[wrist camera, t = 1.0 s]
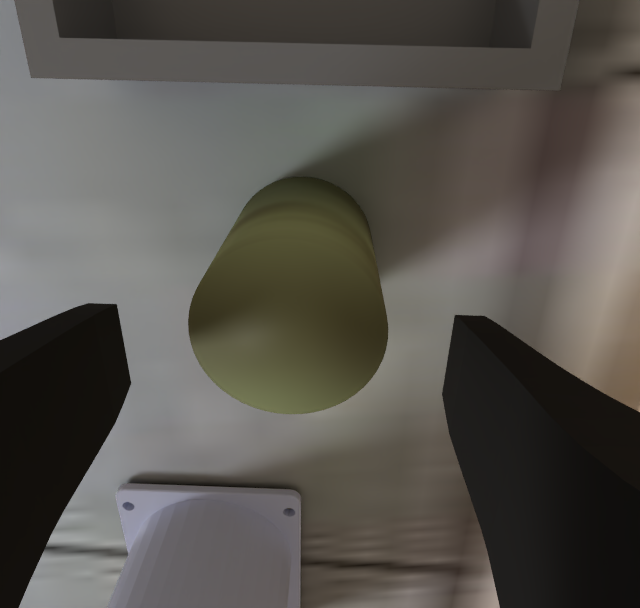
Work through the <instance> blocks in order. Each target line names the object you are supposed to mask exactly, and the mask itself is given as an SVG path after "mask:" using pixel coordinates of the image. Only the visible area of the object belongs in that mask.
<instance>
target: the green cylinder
mask: <svg viewBox="0 0 640 608" xmlns="http://www.w3.org/2000/svg"><path fill="white" fill-rule="evenodd" d="M188 326H189V336H190V341H191V345H192V348H193V351H194V354H195V356H196V358H197V360H198V362H199V364H200V365H201V367H202V368H203V370H204V371H205V373H206V374H207V375H208V376H209V377H210V379H211V380H212V381H213V382H214V383H215V384H216V385H217V386H218V387H220V388H221V389H222V390H223V391H224V392H226V393H227V394H229V395H230V396H231V397H233V398H235V399H237V400H239V401H240V402H242V403H244V404H247V405H249V406H252V407H254V408H257V409H261V410H264V411H269V412H274V413H282V414H304V413H312V412H316V411H321V410H325V409H327V408H330V407H333V406H336V405H338V404H340V403H342V402H344V401H346V400H347V399H349V398H350V397H352V396H353V395H355V394H356V393H357V392H358V391H360V390H361V389H362V388H363V387H364V386H365V385H366V384H367V383H368V382H369V381H370V380H371V378H372V377H373V375H374V374H375V373H376V371H377V370H378V368H379V366H380V364H381V362H382V360H383V357H384V354H385V351H386V346H387V340H388V322H387V315H386V309H385V304H384V299H383V294H382V289H381V284H380V279H379V274H378V269H377V264H376V258H375V253H374V248H373V243H372V238H371V233H370V229H369V225H368V222H367V219H366V217H365V215H364V213H363V211H362V210H361V208H360V206H359V205H358V204H357V203H356V202H355V200H354V199H353V198H352V197H351V196H350V195H349V194H347V193H346V192H345V191H343V190H342V189H341V188H339V187H337V186H335V185H334V184H332V183H329V182H327V181H324V180H321V179H316V178H311V177H292V178H286V179H282V180H279V181H276V182H274V183H272V184H270V185H267V186H266V187H264V188H263V189H261V190H260V191H259V192H258V193H256V194H255V195H254V196H253V197H252V198H251V199H250V200H249V202H248V203H247V204H246V206H245V207H244V209H243V210H242V212H241V214H240V216H239V217H238V219H237V221H236V222H235V224H234V226H233V227H232V229H231V231H230V233H229V234H228V236H227V238H226V239H225V241H224V243H223V244H222V246H221V248H220V250H219V251H218V253H217V255H216V256H215V258H214V260H213V261H212V263H211V265H210V267H209V268H208V270H207V272H206V273H205V275H204V277H203V278H202V280H201V282H200V284H199V285H198V287H197V289H196V291H195V294H194V296H193V298H192V302H191V306H190V310H189V319H188Z"/></svg>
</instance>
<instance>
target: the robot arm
mask: <svg viewBox="0 0 640 608" xmlns="http://www.w3.org/2000/svg"><path fill="white" fill-rule="evenodd" d="M130 385H131V380H130V375H129V369H128V364H127V358H126V353H125V347H124V342H123V336H122V331H121V325H120V320H119V314H118V309H117V304H93V303H88V304H85V305H81V306H78V307H75V308H73V309H70V310H68V311H65V312H63V313H60V314H58V315H56V316H54V317H51V318H49V319H47V320H45V321H42V322H40V323H38V324H36V325H33V326H31V327H29V328H27V329H25V330H22V331H20V332H18V333H16V334H13V335H11V336H9V337H7V338H5V339H2V340H0V608H19V605H20V603H21V600H22V598H23V596H24V593H25V591H26V589H27V586H28V584H29V582H30V579H31V577H32V575H33V573H34V571H35V568H36V566H37V564H38V562H39V560H40V558H41V555H42V553H43V551H44V549H45V547H46V544H47V542H48V540H49V538H50V536H51V534H52V532H53V530H54V528H55V526H56V524H57V522H58V520H59V519H60V517H61V515H62V513H63V511H64V509H65V508H66V506H67V504H68V503H69V501H70V499H71V498H72V496H73V494H74V492H75V491H76V489H77V487H78V486H79V484H80V482H81V481H82V479H83V477H84V476H85V474H86V472H87V471H88V469H89V467H90V465H91V464H92V462H93V460H94V459H95V457H96V455H97V454H98V452H99V450H100V449H101V447H102V445H103V443H104V442H105V440H106V438H107V436H108V435H109V433H110V431H111V429H112V428H113V426H114V424H115V422H116V420H117V418H118V415H119V413H120V411H121V408H122V406H123V403H124V401H125V398H126V395H127V393H128V390H129V387H130ZM442 396H443V402H444V407H445V413H446V419H447V424H448V429H449V434H450V437H451V440H452V443H453V446H454V449H455V453H456V456H457V459H458V462H459V465H460V468H461V471H462V474H463V477H464V479H465V482H466V485H467V488H468V491H469V494H470V497H471V500H472V503H473V506H474V509H475V512H476V515H477V518H478V521H479V524H480V527H481V530H482V534H483V537H484V540H485V544H486V547H487V551H488V555H489V560H490V564H491V569H492V573H493V578H494V582H495V587H496V591H497V596H498V600H499V605H500V608H640V412H638V411H636V410H634V409H632V408H630V407H628V406H626V405H624V404H622V403H620V402H618V401H617V400H615V399H613V398H611V397H609V396H607V395H606V394H604V393H602V392H600V391H599V390H597V389H595V388H594V387H592V386H590V385H589V384H587V383H585V382H584V381H582V380H580V379H579V378H577V377H575V376H574V375H572V374H570V373H569V372H567V371H566V370H564V369H563V368H561V367H560V366H558V365H557V364H555V363H553V362H552V361H551V360H549V359H548V358H546V357H545V356H543V355H542V354H540V353H539V352H537V351H536V350H534V349H533V348H531V347H530V346H529V345H527V344H526V343H524V342H523V341H521V340H520V339H519V338H517V337H516V336H514V335H513V334H511V333H510V332H509V331H507V330H506V329H504V328H503V327H501V326H500V325H498V324H497V323H495V322H494V321H492V320H490V319H489V318H487V317H485V316H469V315H455V318H454V324H453V330H452V336H451V343H450V349H449V355H448V361H447V367H446V374H445V380H444V386H443V392H442ZM116 501H117V505H118V510H119V514H120V519H121V523H122V527H123V532H124V536H125V541H126V545H127V550H128V554H129V555H128V557H127V559H126V562H125V564H124V567H123V569H122V571H121V574H120V576H119V579H118V581H117V584H116V586H115V588H114V591H113V593H112V596H111V598H110V601H109V603H108V605H107V608H301V496H300V494H299V493H298V492H297V491H295V490H291V489H268V488H241V487H214V486H187V485H160V484H133V483H127V484H122V485H120V487H119V488H118V490H117V492H116ZM129 502H130V503H129ZM287 508H291V509H287Z"/></svg>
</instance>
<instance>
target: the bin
mask: <svg viewBox="0 0 640 608" xmlns="http://www.w3.org/2000/svg"><path fill="white" fill-rule="evenodd" d="M14 1H15V5H16V10H17V15H18V19H19V24H20V29H21V33H22V38H23V42H24V47H25V52H26V56H27V61H28V66H29V70H30V75H31V78H56V79H97V80H138V81H180V82H221V83H262V84H304V85H345V86H387V87H428V88H469V89H511V90H552V91H560V89H561V84H562V80H563V75H564V71H565V66H566V61H567V57H568V52H569V47H570V43H571V38H572V34H573V29H574V24H575V20H576V15H577V11H578V6H579V1H580V0H14Z"/></svg>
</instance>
